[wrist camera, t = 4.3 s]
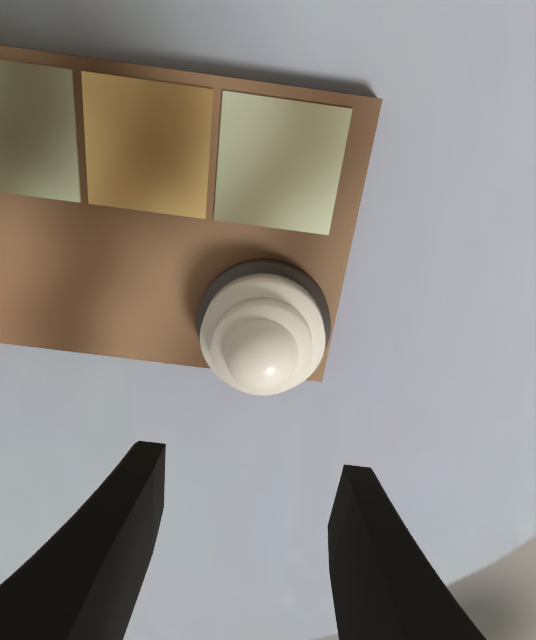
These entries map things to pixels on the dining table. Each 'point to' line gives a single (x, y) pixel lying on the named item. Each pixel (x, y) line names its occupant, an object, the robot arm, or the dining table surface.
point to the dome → (262, 334)
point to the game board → (165, 199)
